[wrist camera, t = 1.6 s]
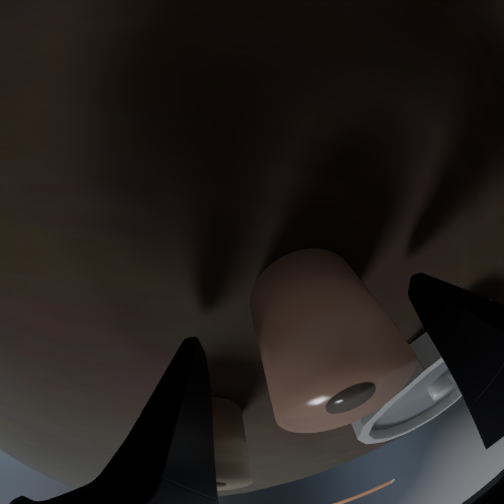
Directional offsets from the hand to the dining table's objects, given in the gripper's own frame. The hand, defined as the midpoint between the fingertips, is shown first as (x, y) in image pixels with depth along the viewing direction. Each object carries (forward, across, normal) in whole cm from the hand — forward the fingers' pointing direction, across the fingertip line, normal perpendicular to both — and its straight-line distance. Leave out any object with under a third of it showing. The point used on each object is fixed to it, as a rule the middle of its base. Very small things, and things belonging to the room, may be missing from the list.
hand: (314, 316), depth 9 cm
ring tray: (+1, -10, +12) cm, 16 cm away
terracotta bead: (+1, 0, 0) cm, 1 cm away
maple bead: (+1, +6, +7) cm, 9 cm away
